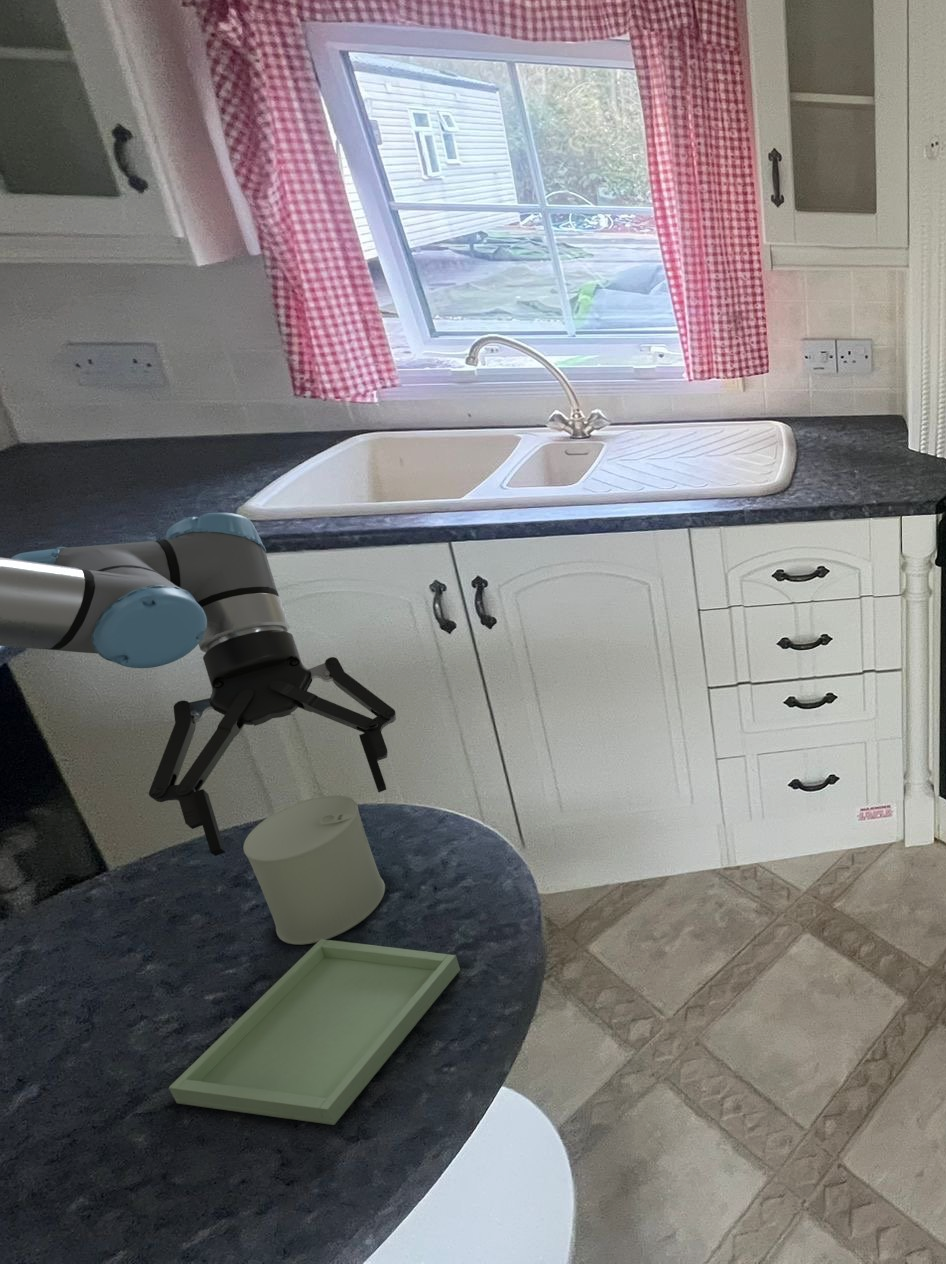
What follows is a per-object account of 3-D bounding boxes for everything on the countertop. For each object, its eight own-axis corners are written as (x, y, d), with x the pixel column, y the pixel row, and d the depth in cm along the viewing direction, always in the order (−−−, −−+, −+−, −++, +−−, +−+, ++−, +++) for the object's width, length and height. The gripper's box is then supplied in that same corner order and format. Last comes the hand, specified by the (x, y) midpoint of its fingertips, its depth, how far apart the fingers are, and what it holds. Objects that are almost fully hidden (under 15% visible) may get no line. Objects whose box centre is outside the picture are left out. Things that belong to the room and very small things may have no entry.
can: (370, 930, 86) (339, 843, 82) (260, 956, 83) (222, 867, 79) (396, 865, 94) (369, 782, 90) (296, 887, 91) (263, 802, 87)
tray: (176, 1103, 70) (167, 1087, 69) (326, 953, 84) (320, 938, 83) (334, 1125, 69) (327, 1109, 68) (460, 969, 83) (456, 954, 82)
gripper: (385, 616, 103) (440, 772, 99) (95, 696, 86) (148, 887, 82) (382, 595, 98) (441, 759, 93) (73, 675, 81) (128, 878, 77)
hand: (304, 819), depth 88 cm, fingers open, 13 cm apart
